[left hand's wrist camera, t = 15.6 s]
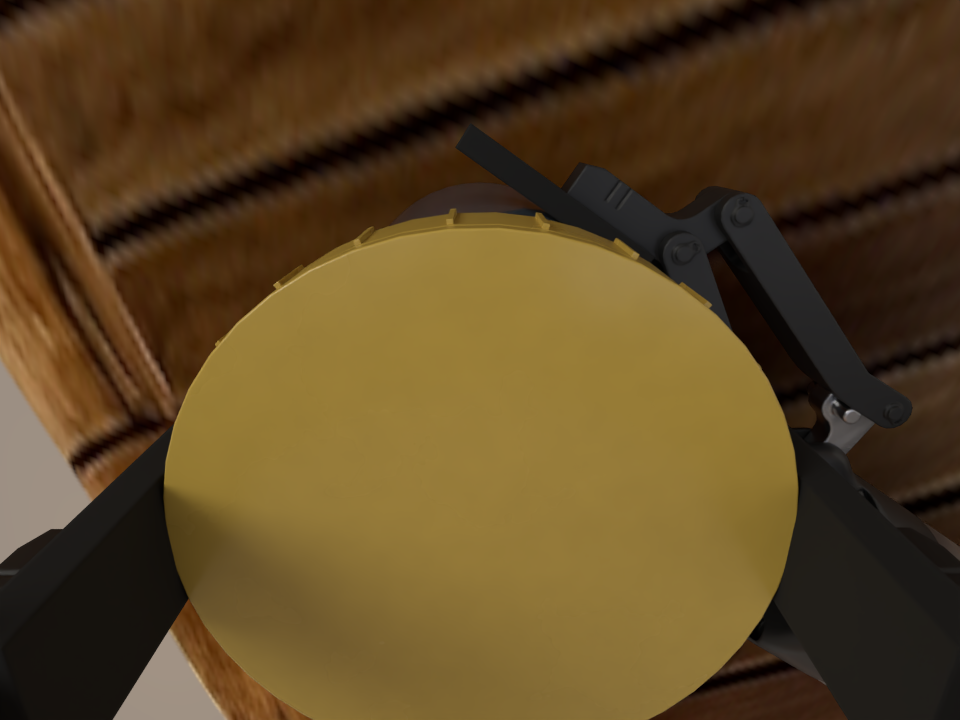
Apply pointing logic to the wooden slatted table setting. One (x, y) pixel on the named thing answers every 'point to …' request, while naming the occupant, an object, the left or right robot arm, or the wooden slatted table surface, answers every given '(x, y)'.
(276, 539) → the lid
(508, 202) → the jar
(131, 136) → the wooden slatted table surface
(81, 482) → the wooden slatted table surface
